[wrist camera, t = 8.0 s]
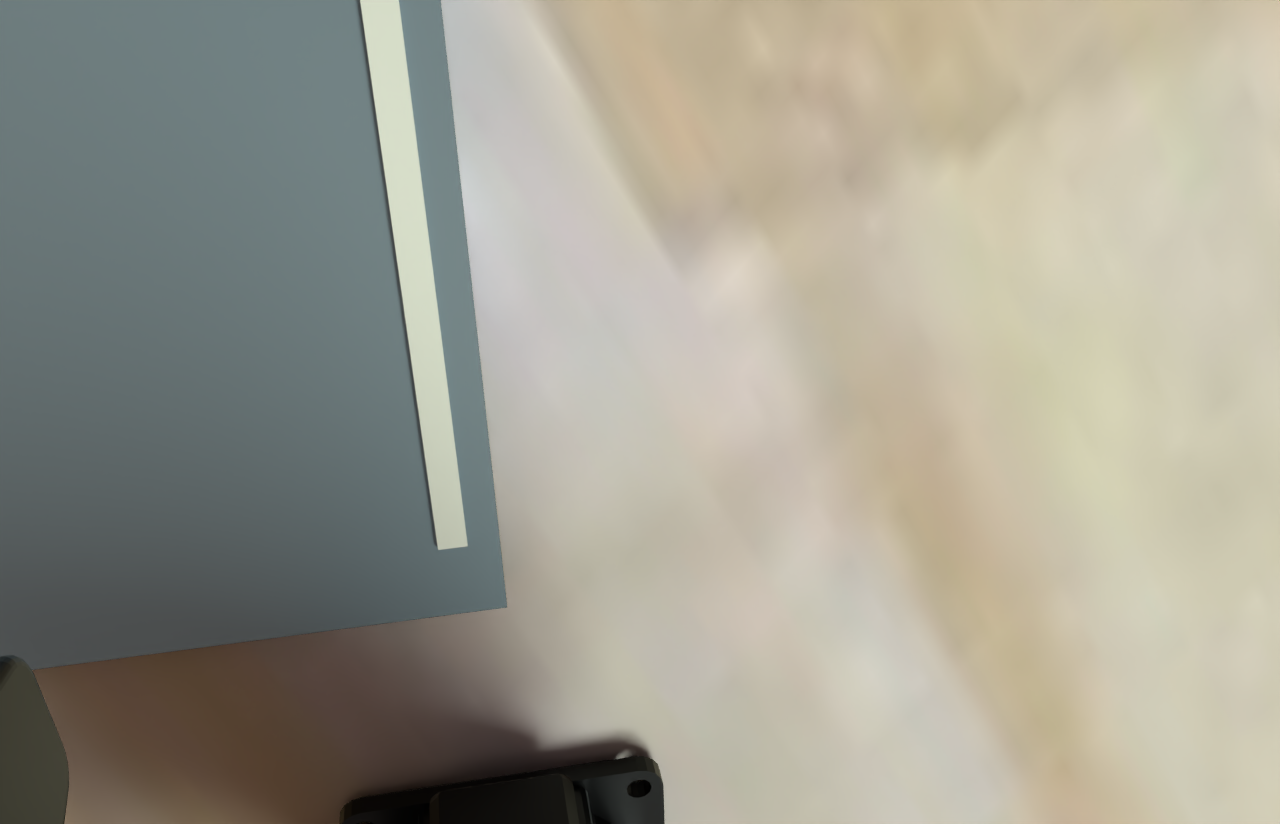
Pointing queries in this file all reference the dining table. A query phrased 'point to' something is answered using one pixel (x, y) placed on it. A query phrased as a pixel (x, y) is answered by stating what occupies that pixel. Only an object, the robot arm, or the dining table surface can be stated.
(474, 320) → the board
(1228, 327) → the dining table surface
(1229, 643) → the dining table surface
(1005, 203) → the dining table surface
